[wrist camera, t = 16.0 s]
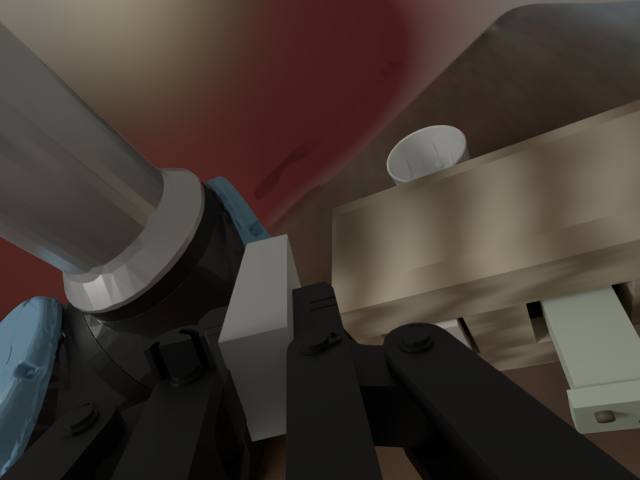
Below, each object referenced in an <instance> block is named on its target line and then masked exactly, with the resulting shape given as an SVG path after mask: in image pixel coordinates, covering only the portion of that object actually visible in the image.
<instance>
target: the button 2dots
mask: <svg viewBox="0 0 640 480" xmlns="http://www.w3.org/2000/svg"><path fill="white" fill-rule="evenodd" d="M540 305H541V310H542V314H543V317H544V320H545V323H546V325H547V328H548V331H549V333H550V336H551V338H552V341H553V344H554V346H555V349H556V351H557V354H558V357H559V359H560V362H561V365H562V367H563V370H564V372H565V375H566V378H567V380H568V383H569V385H570V388H571V390H567V394H568V399H569V405H570V410H571V415H572V419H573V421H574V424H575V427H576V430H577V431H578V432H579V433H580V434H584V433H594V432H604V431H614V430H624V429H634V428H640V338H639V336H638V334H637V333H636V331H635V329H634V327H633V325H632V323H631V322H630V320H629V318H628V316H627V314H626V312H625V310H624V309H623V307H622V305H621V303H620V301H619V299H618V297H617V296H616V294H615V292H614V290H613V288H612V286H611V285H609V286H604V287H600V288H595V289H591V290H586V291H581V292H577V293H572V294H567V295H563V296H558V297H554V298H549V299H544V300H540Z"/></svg>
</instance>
